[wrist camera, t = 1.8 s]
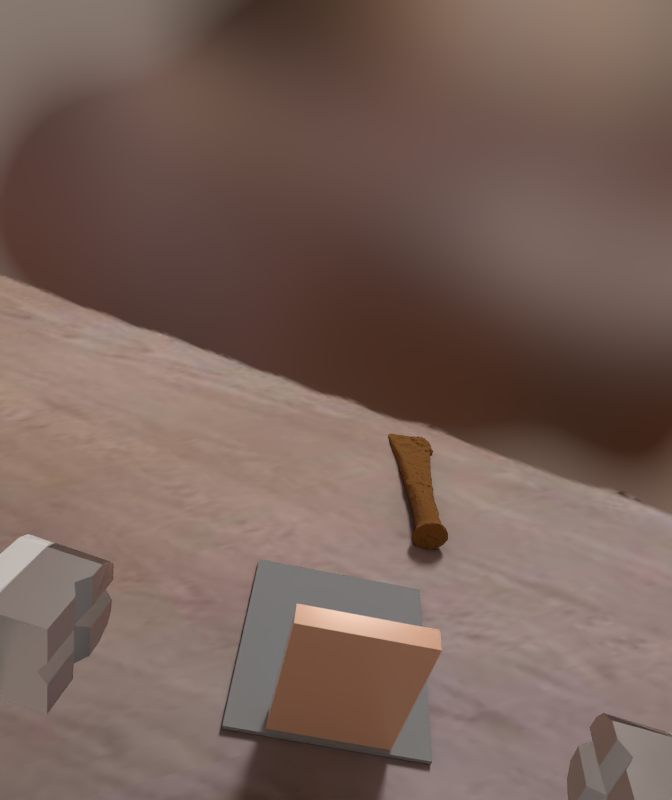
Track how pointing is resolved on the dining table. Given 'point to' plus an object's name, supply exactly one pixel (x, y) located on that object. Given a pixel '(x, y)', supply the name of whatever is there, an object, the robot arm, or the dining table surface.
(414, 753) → the mat
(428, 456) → the primitive tool
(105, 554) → the dining table surface
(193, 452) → the dining table surface
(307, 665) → the tile
